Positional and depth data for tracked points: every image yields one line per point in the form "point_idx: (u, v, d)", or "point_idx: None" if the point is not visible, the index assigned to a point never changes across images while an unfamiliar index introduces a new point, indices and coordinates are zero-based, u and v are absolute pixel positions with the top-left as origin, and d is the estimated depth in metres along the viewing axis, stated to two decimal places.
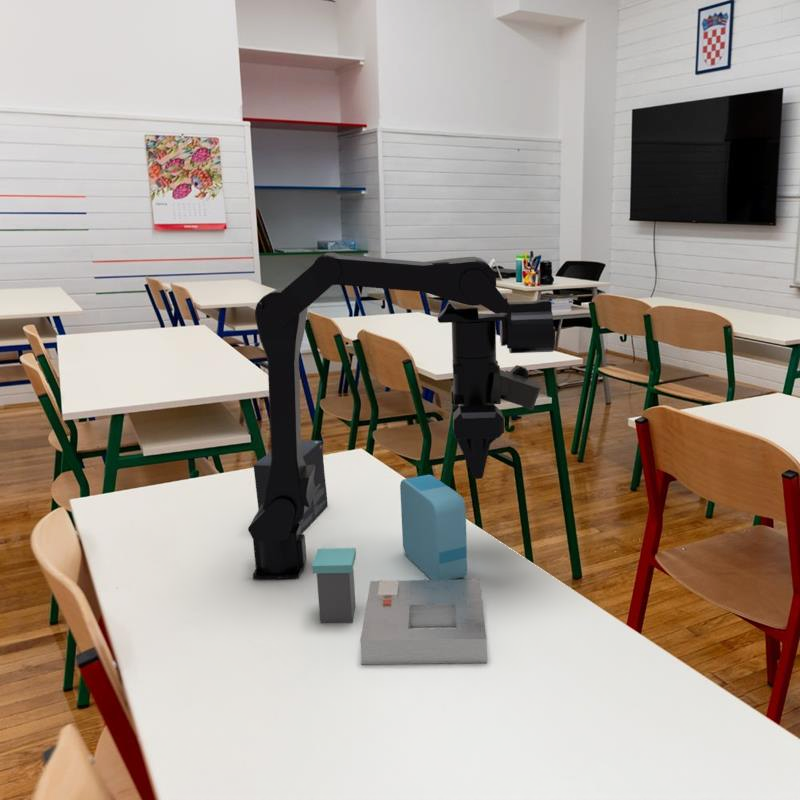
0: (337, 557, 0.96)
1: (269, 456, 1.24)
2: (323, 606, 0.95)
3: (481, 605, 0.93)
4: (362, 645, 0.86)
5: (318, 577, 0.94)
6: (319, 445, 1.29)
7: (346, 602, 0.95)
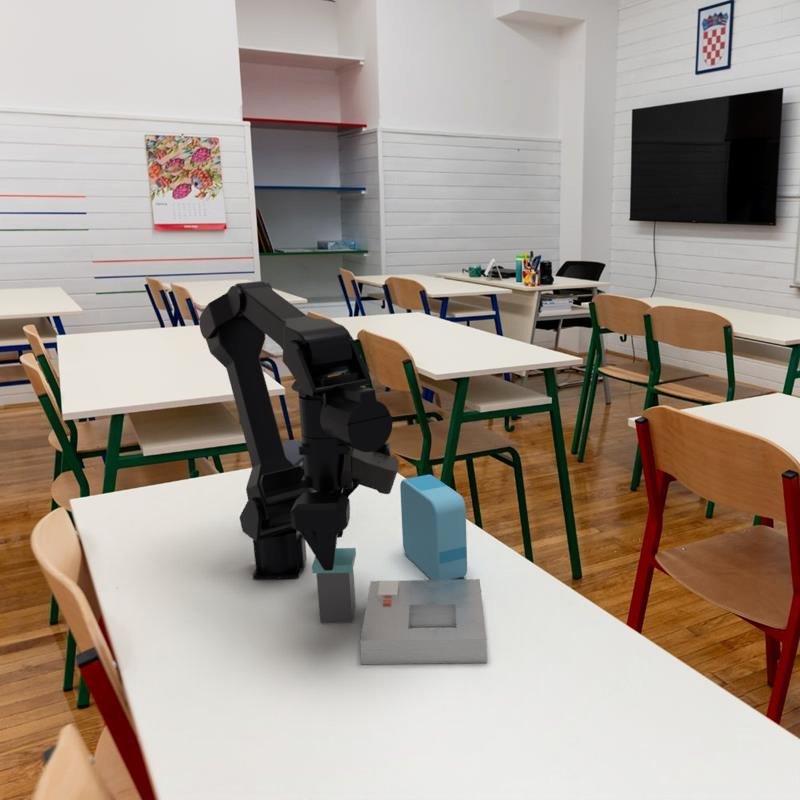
0: (337, 557, 0.96)
1: None
2: (323, 606, 0.95)
3: (481, 605, 0.93)
4: (362, 645, 0.86)
5: (318, 577, 0.94)
6: None
7: (346, 602, 0.95)
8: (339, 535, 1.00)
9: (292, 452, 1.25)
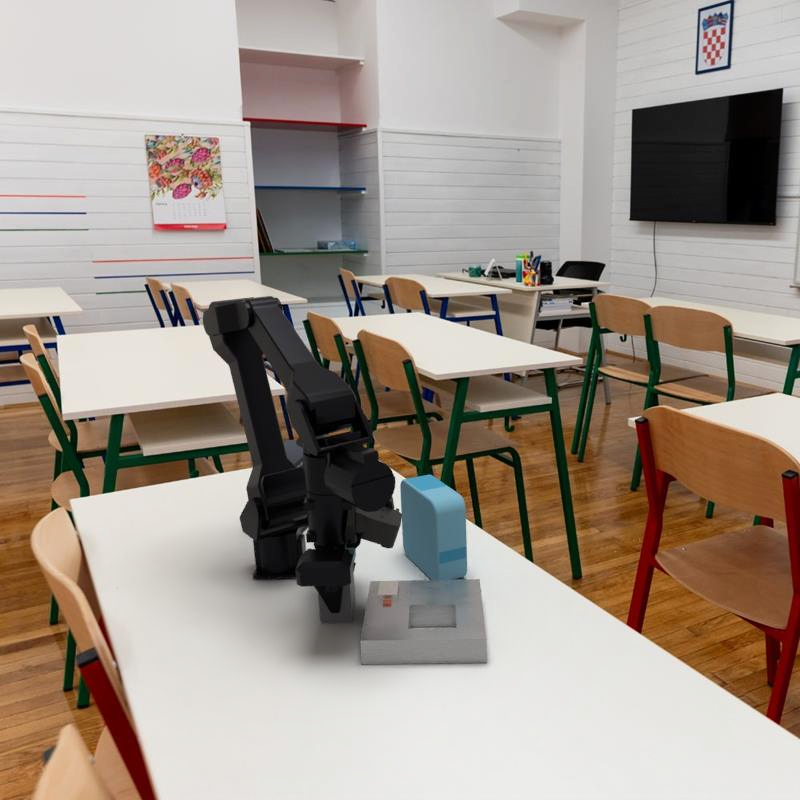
0: None
1: None
2: (323, 605, 0.95)
3: (481, 605, 0.93)
4: (362, 645, 0.86)
5: None
6: None
7: (346, 602, 0.95)
8: None
9: (292, 452, 1.25)
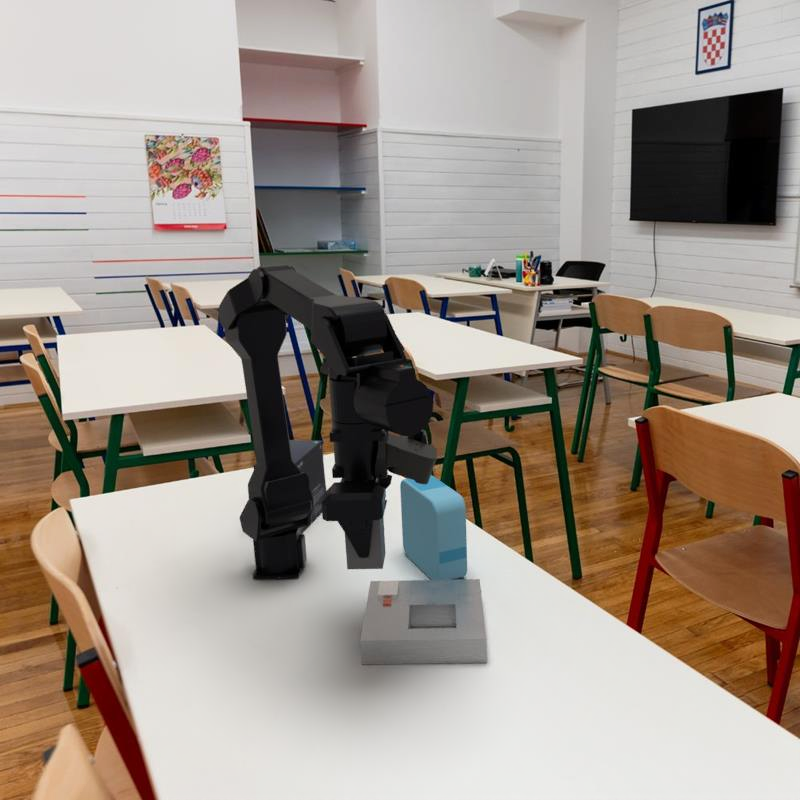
0: None
1: None
2: (350, 549, 0.87)
3: (481, 605, 0.93)
4: (362, 645, 0.86)
5: None
6: (319, 445, 1.29)
7: (376, 546, 0.86)
8: None
9: (292, 452, 1.25)
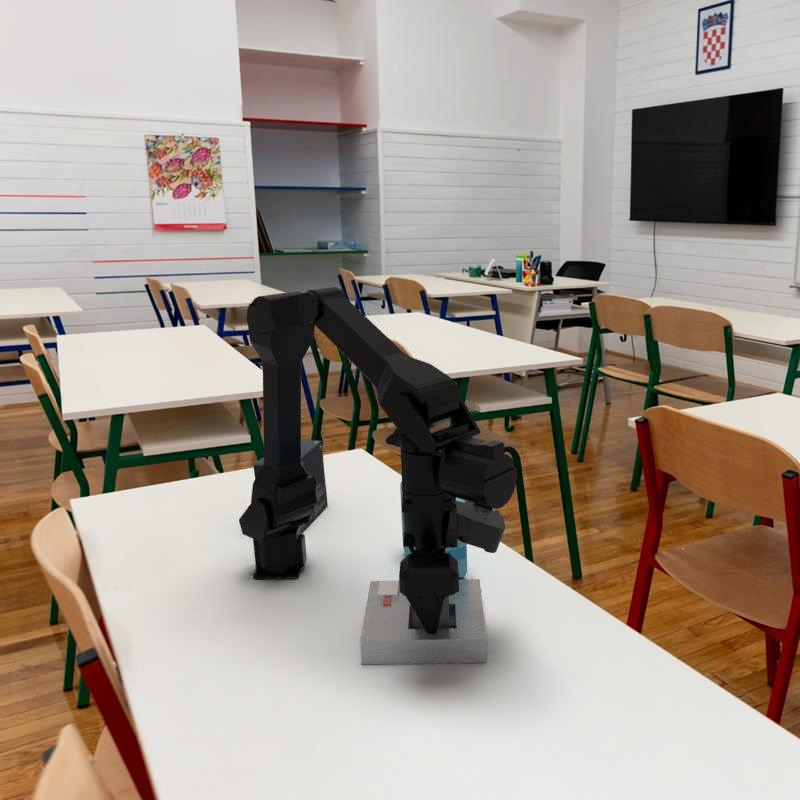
0: None
1: None
2: None
3: (481, 605, 0.93)
4: (362, 645, 0.86)
5: None
6: (319, 445, 1.29)
7: (444, 627, 0.89)
8: None
9: None
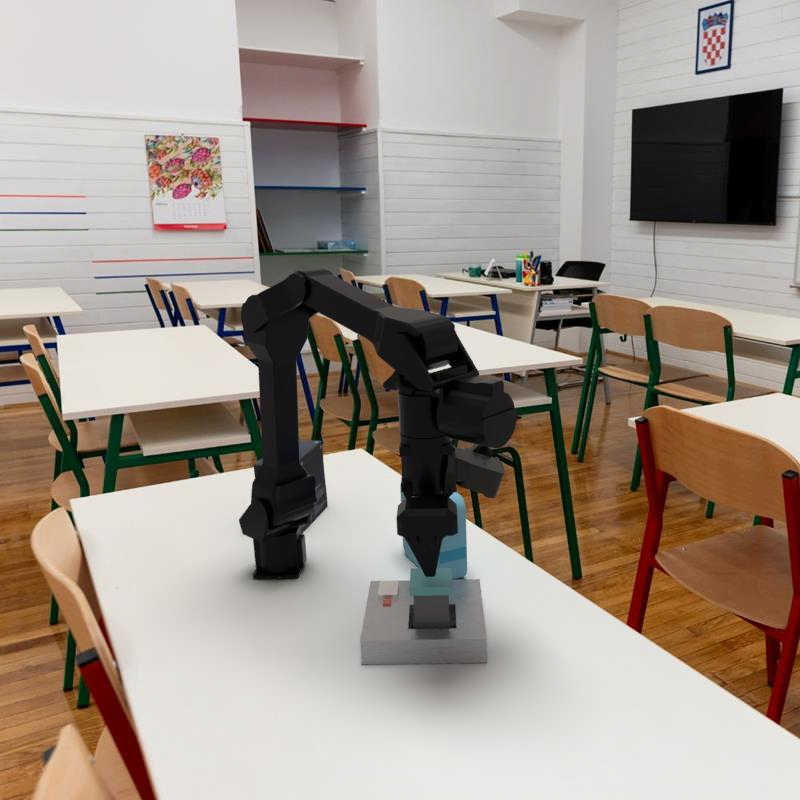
0: (434, 578, 0.89)
1: None
2: None
3: (481, 605, 0.93)
4: (362, 645, 0.86)
5: (415, 600, 0.88)
6: (319, 445, 1.29)
7: (444, 627, 0.89)
8: None
9: None
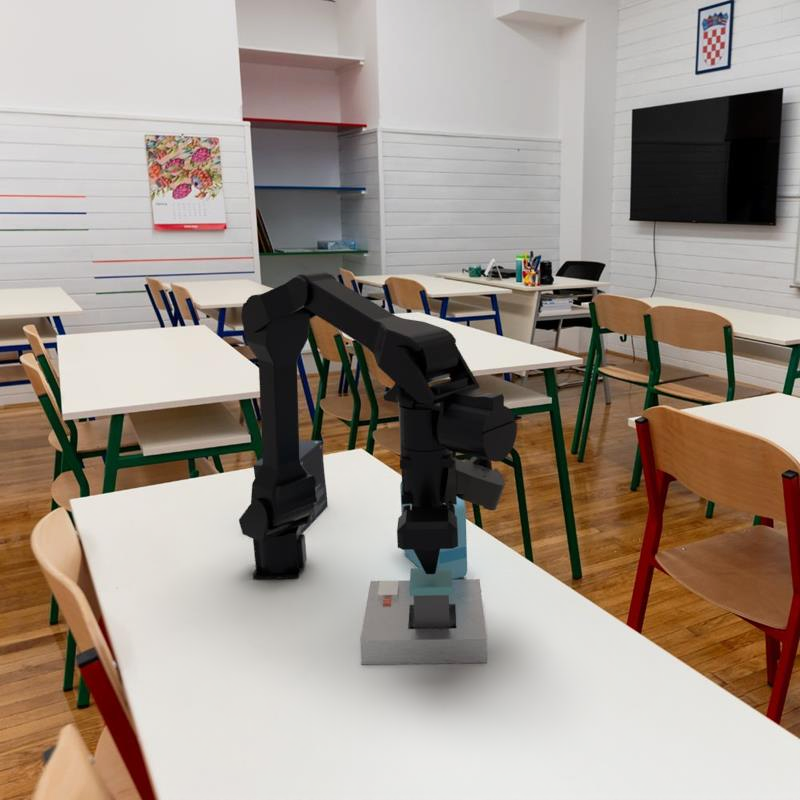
0: (434, 578, 0.89)
1: None
2: None
3: (481, 605, 0.93)
4: (362, 645, 0.86)
5: (415, 600, 0.88)
6: (319, 445, 1.29)
7: (444, 627, 0.89)
8: None
9: None
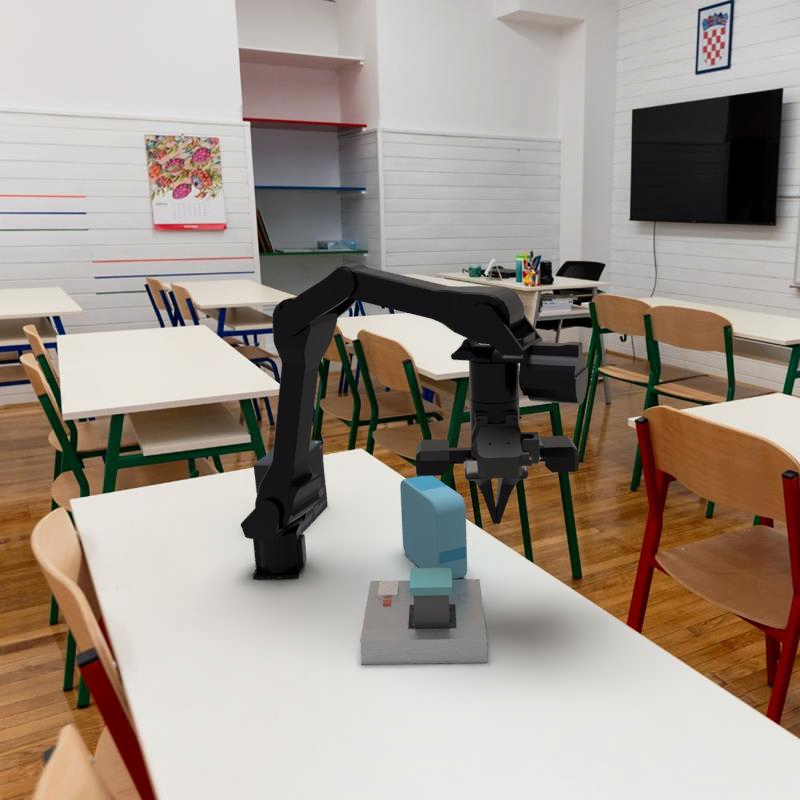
0: (434, 578, 0.89)
1: (269, 456, 1.24)
2: None
3: (481, 605, 0.93)
4: (362, 645, 0.86)
5: (415, 600, 0.88)
6: (319, 445, 1.29)
7: (444, 627, 0.89)
8: None
9: None
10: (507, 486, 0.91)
